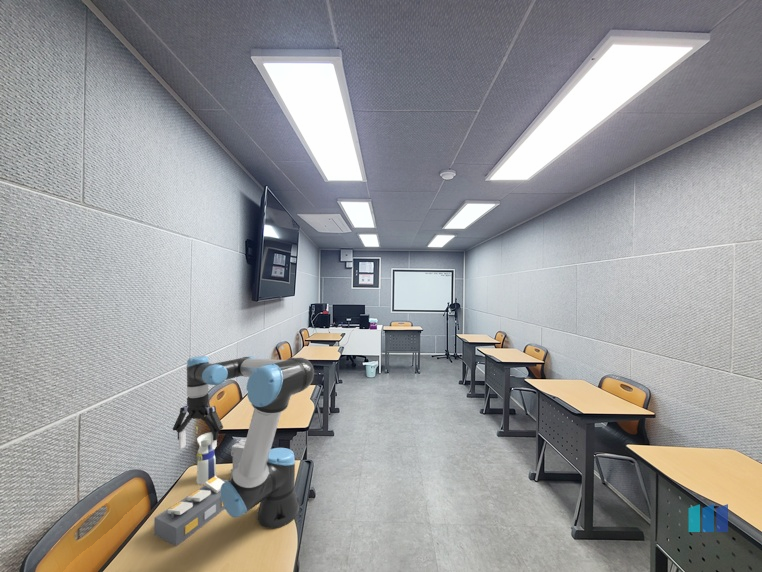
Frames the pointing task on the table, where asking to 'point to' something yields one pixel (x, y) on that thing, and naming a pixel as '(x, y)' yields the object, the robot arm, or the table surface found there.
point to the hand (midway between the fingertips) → (198, 447)
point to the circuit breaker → (237, 453)
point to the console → (188, 518)
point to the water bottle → (205, 459)
